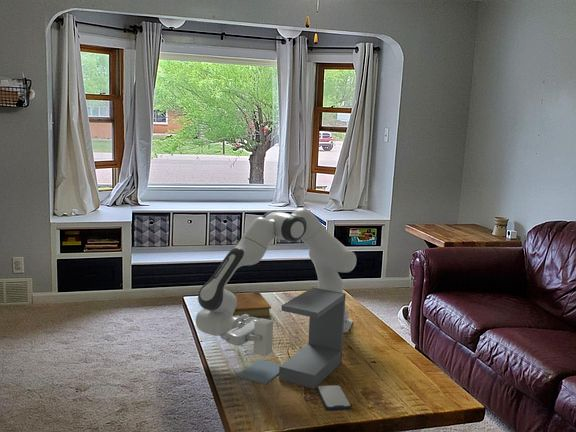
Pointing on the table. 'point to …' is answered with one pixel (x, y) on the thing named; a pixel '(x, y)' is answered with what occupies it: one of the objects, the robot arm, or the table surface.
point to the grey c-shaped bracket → (316, 337)
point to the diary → (252, 305)
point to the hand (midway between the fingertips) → (265, 335)
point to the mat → (260, 371)
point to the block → (263, 336)
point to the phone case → (333, 398)
